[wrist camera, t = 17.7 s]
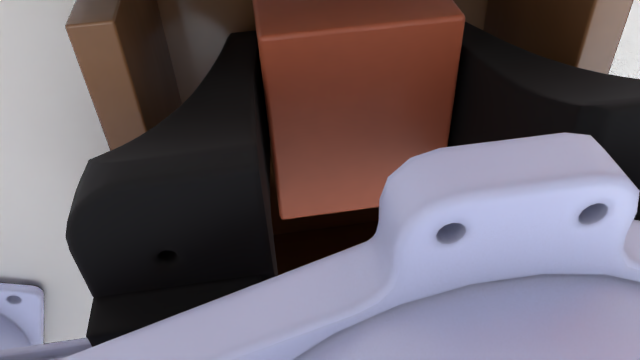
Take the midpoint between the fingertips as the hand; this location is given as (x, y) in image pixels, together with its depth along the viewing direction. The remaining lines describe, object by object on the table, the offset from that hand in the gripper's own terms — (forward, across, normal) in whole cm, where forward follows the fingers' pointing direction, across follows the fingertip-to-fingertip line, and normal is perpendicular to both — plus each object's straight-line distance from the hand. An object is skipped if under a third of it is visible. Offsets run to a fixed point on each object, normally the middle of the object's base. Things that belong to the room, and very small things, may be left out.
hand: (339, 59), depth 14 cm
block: (+1, 0, 0) cm, 1 cm away
